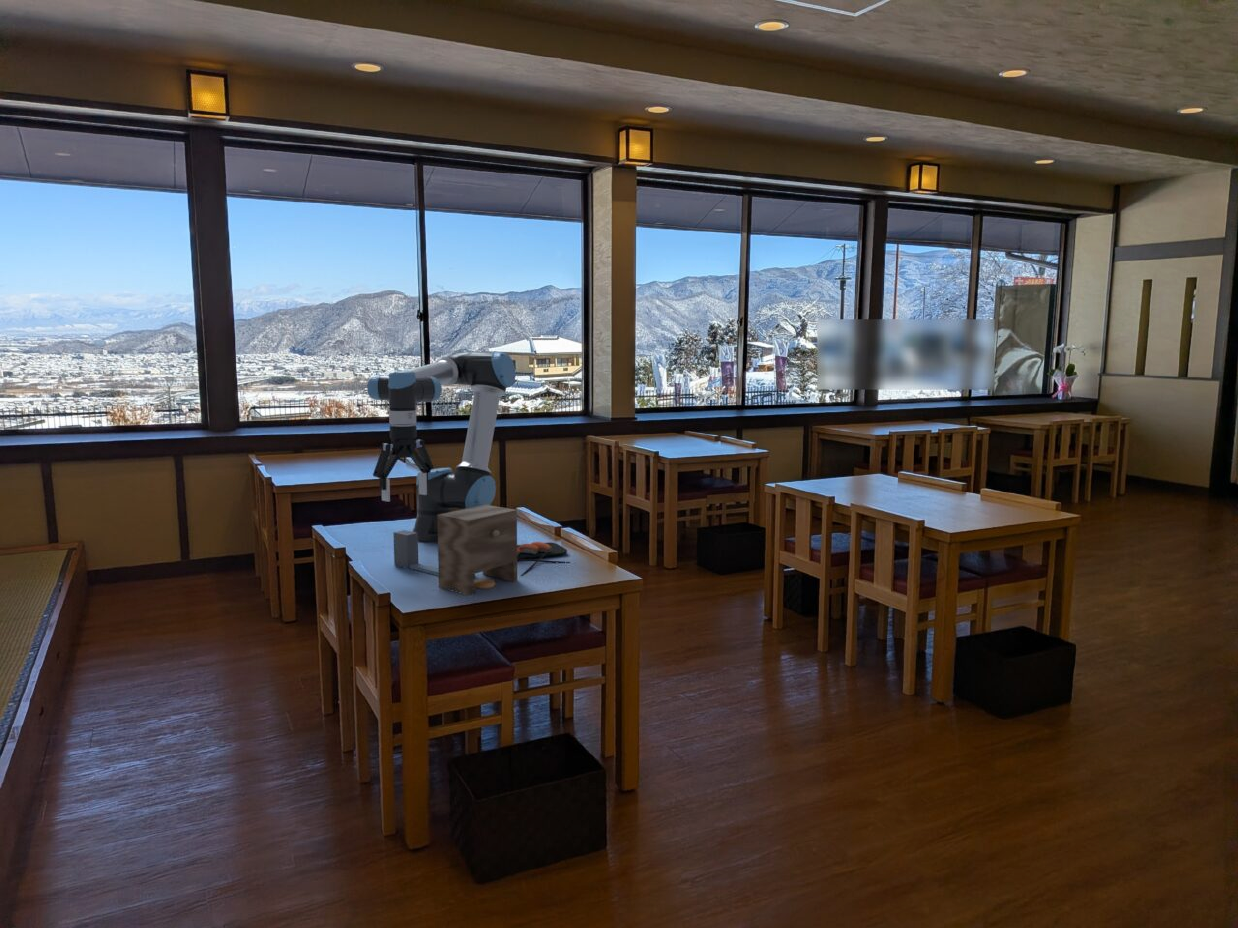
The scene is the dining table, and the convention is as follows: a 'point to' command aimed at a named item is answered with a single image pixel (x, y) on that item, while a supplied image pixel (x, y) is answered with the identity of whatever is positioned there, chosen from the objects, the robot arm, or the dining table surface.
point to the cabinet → (476, 546)
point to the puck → (484, 583)
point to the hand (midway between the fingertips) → (404, 497)
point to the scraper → (409, 552)
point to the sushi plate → (539, 552)
